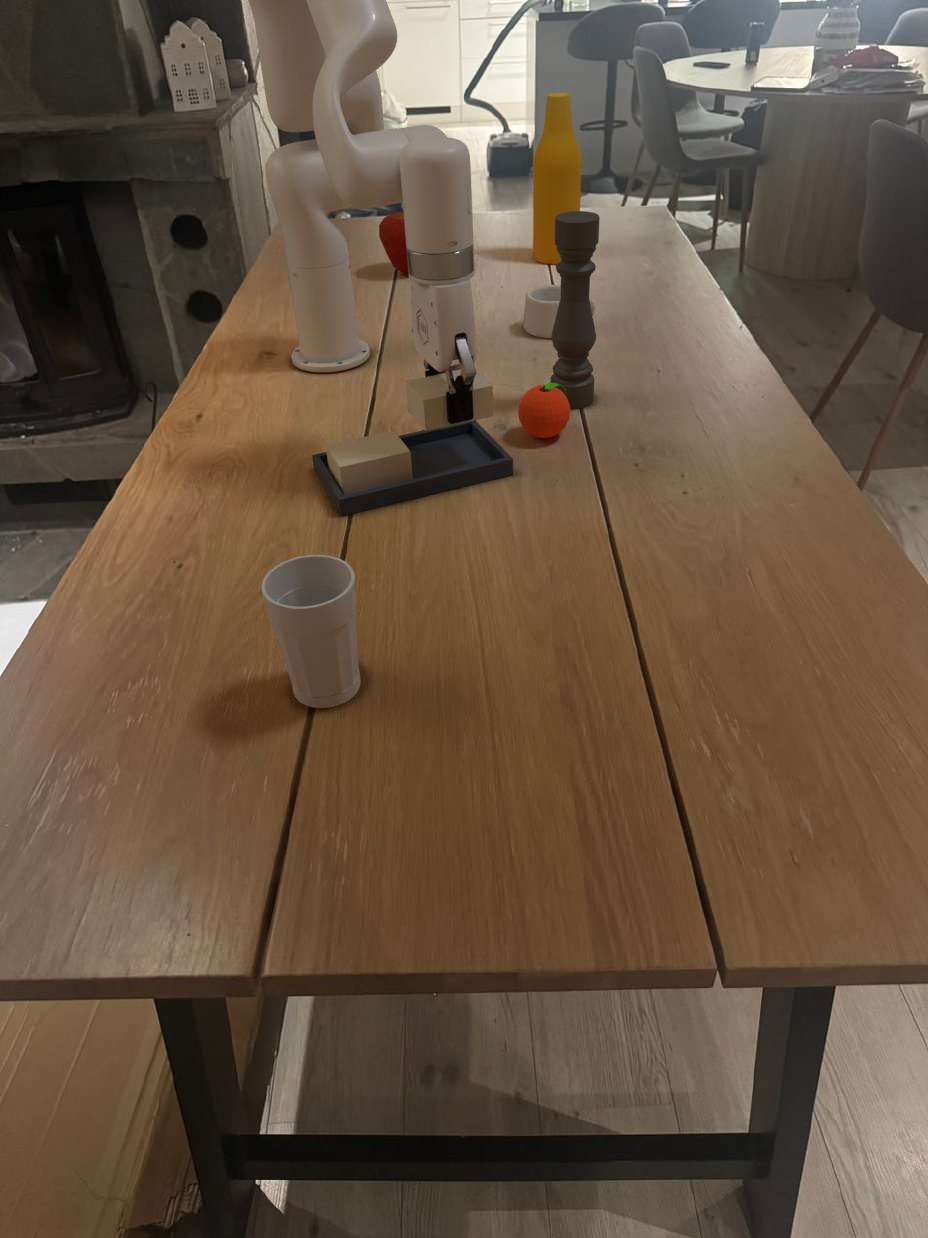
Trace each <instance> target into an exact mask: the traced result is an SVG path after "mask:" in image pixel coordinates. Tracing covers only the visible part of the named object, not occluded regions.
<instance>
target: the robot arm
mask: <svg viewBox="0 0 928 1238" xmlns="http://www.w3.org/2000/svg"><path fill="white" fill-rule="evenodd" d="M247 2H248V4H249V8H250V10H251V13H252V17H253V22H254V27H255V28H254V29H255V35H256V42H257V49H258V56H259V63H260V69H261V77H262V82H263V88H264V96H265V102H266V107H267V110H268V113H269V116H270V120H271V121H272V123H273V124H274V125H275V127H276V128H278V129H279V130H281V131H283V132H288V133H305V132H314V136H315V139H314V138H313V139H308V140H301V141H296V142H291V143H287V144H284V145H282V146H279V147H277V148H276V149H275V150H273V151H272V152H271V154H270V155H269V156H268V158H267V161H266V164H265V177H266V183H267V187H268V190H269V193H270V197H271V199H272V203H273V206H274V209H275V213H276V216H277V220H278V224H279V228H280V235H281V239H282V246H283V250H284V256H285V263H286V268H287V275H288V281H289V287H290V294H291V300H292V307H293V313H294V319H295V326H296V333H297V339H298V344H299V345H298V346H296V348H294V350H292V352H291V361H292V364H293V366H295V367H296V368H297V369H300V370H302V371H305V372H311V373H322V374H323V373H337V372H342V371H346V370H351V369H353V368H356V367H358V366H360V365H362V364H364V363H365V362H366V361H367V360H368V359H369V358H370V356H371V349H370V346H369V345H368V343H367V342H365V341H363V340H361V339H360V338H359V329H358V321H357V313H356V304H355V294H354V286H353V277H352V268H351V260H350V253H349V245H348V242H347V239H346V237H345V235H344V234H343V233H342V231H341V230H340V229H339V228H338V227H337V226H336V225H335V224H334V223H333V222H332V221H331V220H330V218H329V217H328V215H329V214H330V213H333V212H337V211H340V210H346V209H354V210H367V209H375V208H380V207H386V206H391V205H396V204H402V207H403V208H402V210H403V211H404V223H405V235H406V247H407V259H408V271H409V275H408V278H409V280H410V316H411V317H410V318H411V319H410V320H411V338H412V346H413V348H414V350H415V351H416V353H418V355H419V356H420V357H422V359H423V367H424V369H425V370H424V377H428V376H433V375H438V374H443V373H445V374H446V379H447V384H448V389H449V391H448V392H446V402H447V418H448V422H449V423H450V424H455V423H459V422H464V421H468V420H472V419H473V417H474V415H473V392H472V390H473V381H474V378H475V376H476V371H477V369H476V366H475V363H476V361H477V331H476V317H475V308H474V307H475V306H474V300H473V299H474V298H473V291H472V283H471V279H472V278H473V277H474V276H475V274H476V272H475V271H476V270H475V269H476V268H475V249H474V248H475V247H474V220H473V219H474V218H473V195H472V194H473V193H472V191H473V190H472V167H471V155H470V150H469V148H468V146H467V145H466V143H465V142H464V141H462V140H461V139H457V138H454V137H448V135H446V133H445V132H444V131H442V130H441V129H440V128H438V127H437V126H434V125H430V124H421V125H413V126H406V127H398V128H397V127H396V128H395V127H394V128H389V129H385V123H384V121H385V120H384V110H383V97H382V88H381V83H380V78H379V74H378V71H377V70H378V69H380V68H381V67H382V66H383V65H384V64H385V63H386V62H387V61H388V59H389V58H390V57H391V56H392V54H393V53H394V51H395V49H396V46H397V43H398V29H397V26H396V23H395V19H394V18H393V15H392V13H391V10H390V6H389V4H388V2H387V0H247ZM457 360H458V363H457V364H453V365H452V363H453V361H457ZM457 370H461V373H460V374H461V375H459V376H457V378H456V379H455V381H454V377H453V372H452V371H457Z"/></svg>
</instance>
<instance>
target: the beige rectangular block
mask: <svg viewBox="0 0 928 1238" xmlns="http://www.w3.org/2000/svg"><path fill="white" fill-rule="evenodd" d="M452 372H453V377H454V381H455V379H456V378H457V376H459V375H461V374H460V373H461V370H456V371H452ZM405 390H406V391H405V392H406V402H407V403H406V404H407V412H408V413H409V414H410V415H411V416H412V417H413V418H414V420H415V421H416V422H417V423H418V424H419V425H420V427H421V428H422V429H423V430H425V431H428V430H432V429H437V428H441V427H446V426H450V425H455V424H459V423H464V422H468V421H473V420H476V421H477V420H481V419H486V418H491V417H494V415H495V414H494V413H495V411H494V385H493V384H492V383H490V381H488V380H487V379H486V378H485V377H484V376H483V375H482V374H480V373H479V371H477V370H476V376H475V378H474V381H473V390H472V392H473V415H474V417H473V419H472V420H468V421H464V422H459V423H455V424H450V423H449V422H448V418H447V402H446V392H448V391H449V389H448V384H447V379H446V374H445V373H443V374H438V375H433V376H428V377H425V376H424V377H419V378H413V379H409V380H405Z"/></svg>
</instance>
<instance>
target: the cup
mask: <svg viewBox="0 0 928 1238" xmlns="http://www.w3.org/2000/svg"><path fill="white" fill-rule="evenodd" d="M261 593H262V595H263V599H264V602H265V605H266V608H267V610H268V614H269V617H270V620H271V622H272V625H273V629H274V632H275V635H276V638H277V639H276V640H277V641H278V644H279V645H278V646H279V647H280V651H281V654H282V657H283V661H284V664H285V666H286V670H287V674H288V677H289V679H290V683H291V687H292V693H293V696H294V697H295V699H296V700H297V701H298V702H299V703H301V704H302V705H304V706H307V707H310V708H315V709H328V708H334V707H337V706H340V705H342V704H345V703H347V702H348V701H350V700H351V699H353V698H354V696H356V694H357V693H358V692H359V690H360V688H361V683H362V682H361V674H360V667H359V653H358V651H359V650H358V633H357V615H356V614H357V613H356V609H357V600H356V575H355V571H354V569H353V567H352V566H351V565H350V564H349V563H348V562H347V561H345V560H343V559H341V558H339V557H336V556H333V555H326V554H307V555H306V554H305V555H300V556H296V557H293V558H289V559H287V560H285V561H282V562H281V563H279V564H277V565H276V566H274V567H272V568H271V569H269V571H268V572H267V573H266V574H265V576H264V577H263V579H262V582H261Z"/></svg>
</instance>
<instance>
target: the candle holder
mask: <svg viewBox="0 0 928 1238" xmlns="http://www.w3.org/2000/svg"><path fill="white" fill-rule="evenodd" d="M599 237H600V214H598V213H596V212H593V211H587V210H586V211H585V210H580V211H570V212H564V213H561V214H558V215H557V216H555V245H557V251H558V253H559V254H560V258H561V261H560V262H559V263H558V264H555V270H556V273H557V274H559V277H560V285H561V298H560V302H559V306H558V310H557V314H556V318H555V322H554V326H553V330H552V338H551V341H552V346H553V348H554V349H555V351H556V352H557V353H556V355H557V358H558V359H557V360H556V362H555V363H554V365H552V373H553V374H552V375H551V376H550V383H557V384H560V385H559V386H556V388H558V389H559V390H561V391H562V392H563V393H564V394H565V396H566V397H567V400H568V402H569V404H570V410H579V409H583V408H587V407H589V406H591V405H593V404H592V403H594V400H595V399H594V397H595V395H594V394H595V375H594V374H593V372H594V367H593V365H592V363H591V362H590V359H588V357H589V356H590V351H591V350H592V349H593V347H594V345H595V343H596V340H597V332H596V327H595V322H594V315H593V316H592V311H591V305H590V300H589V298H590V289H591V288H590V287H591V277H592V274H593V273H594V272H595V271H596V269H597V268H596V267H597V266H596V263H595V262H593V261H592V258H593V256H594V253H595V252H596V250H597V245H598V244H599V243H600V242H599V239H600V238H599ZM561 385H562V386H564V387H565V388H566V392H567V394H566V392H565V390H564V388H563V387H562V386H561Z"/></svg>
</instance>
